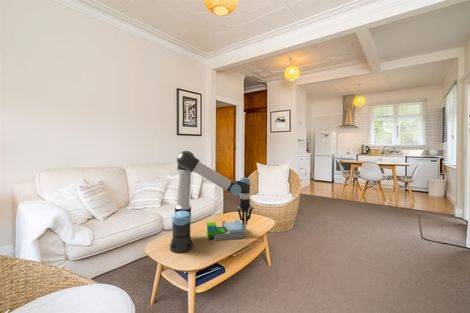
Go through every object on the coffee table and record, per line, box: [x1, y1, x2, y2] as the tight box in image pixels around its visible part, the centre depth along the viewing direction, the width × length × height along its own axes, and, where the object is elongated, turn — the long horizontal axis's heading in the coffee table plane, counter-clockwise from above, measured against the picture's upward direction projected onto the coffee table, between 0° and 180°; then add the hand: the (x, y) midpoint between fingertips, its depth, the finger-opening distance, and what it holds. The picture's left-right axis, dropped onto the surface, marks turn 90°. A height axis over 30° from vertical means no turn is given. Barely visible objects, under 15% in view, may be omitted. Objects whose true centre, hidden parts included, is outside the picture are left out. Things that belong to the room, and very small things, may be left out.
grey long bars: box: [213, 225, 247, 241], centre depth 175 cm, size 24×16×4 cm
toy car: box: [206, 221, 227, 240], centre depth 171 cm, size 10×13×10 cm
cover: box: [221, 218, 246, 233], centre depth 178 cm, size 13×19×8 cm
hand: (244, 228), depth 173 cm, fingers closed
